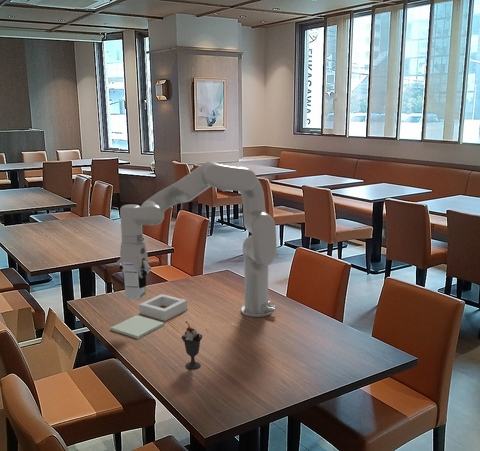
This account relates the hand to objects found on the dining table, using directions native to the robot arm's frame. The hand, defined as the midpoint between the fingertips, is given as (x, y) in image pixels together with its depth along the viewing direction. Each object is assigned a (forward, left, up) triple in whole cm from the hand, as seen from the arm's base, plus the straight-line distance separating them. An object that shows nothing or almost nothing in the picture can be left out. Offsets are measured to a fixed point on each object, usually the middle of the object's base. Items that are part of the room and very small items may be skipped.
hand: (134, 284), depth 192 cm
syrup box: (0, 0, -5) cm, 5 cm away
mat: (0, 0, -17) cm, 17 cm away
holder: (+2, -17, -17) cm, 24 cm away
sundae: (-36, +12, -17) cm, 42 cm away
